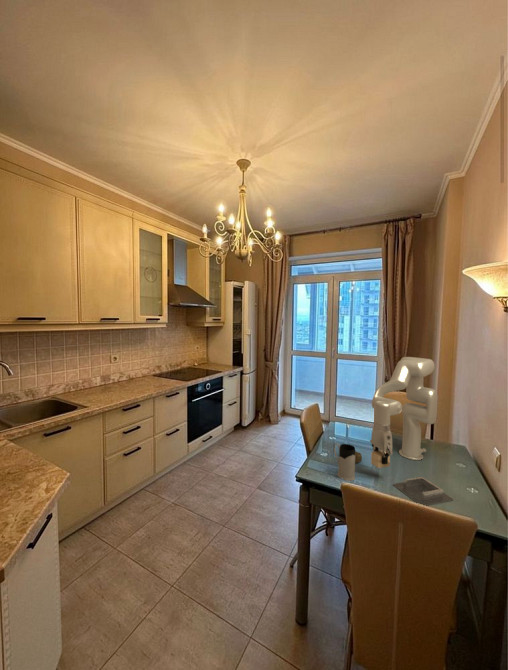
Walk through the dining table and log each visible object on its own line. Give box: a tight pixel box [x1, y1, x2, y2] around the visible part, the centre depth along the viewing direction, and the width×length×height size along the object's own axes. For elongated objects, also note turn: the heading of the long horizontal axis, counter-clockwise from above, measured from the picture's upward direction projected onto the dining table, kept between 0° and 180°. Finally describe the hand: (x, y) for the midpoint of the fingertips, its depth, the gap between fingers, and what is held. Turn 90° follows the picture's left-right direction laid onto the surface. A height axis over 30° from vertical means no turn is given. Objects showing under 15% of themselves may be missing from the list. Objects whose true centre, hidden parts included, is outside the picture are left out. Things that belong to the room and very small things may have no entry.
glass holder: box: [333, 442, 356, 482], centre depth 139 cm, size 9×14×15 cm, turn 24°
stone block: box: [355, 450, 363, 464], centre depth 155 cm, size 6×12×5 cm, turn 39°
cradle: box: [392, 476, 454, 507], centre depth 125 cm, size 18×16×4 cm
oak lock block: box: [370, 449, 391, 469], centre depth 136 cm, size 7×5×6 cm
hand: (380, 460), depth 136 cm, fingers closed on oak lock block, 5 cm apart
